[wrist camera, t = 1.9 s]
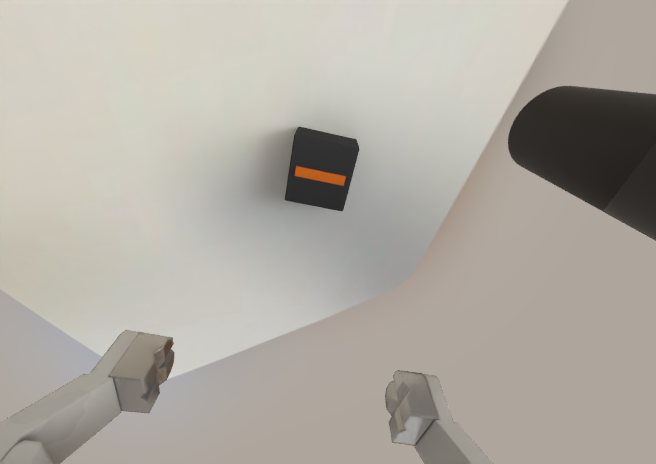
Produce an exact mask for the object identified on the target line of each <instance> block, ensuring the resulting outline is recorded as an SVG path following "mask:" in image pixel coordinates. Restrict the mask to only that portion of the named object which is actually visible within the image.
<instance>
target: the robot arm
mask: <svg viewBox="0 0 656 464" xmlns="http://www.w3.org/2000/svg"><path fill="white" fill-rule="evenodd" d="M173 344H174V343H173V338H172V337H166V336H160V335H154V334H148V333H142V332H136V331H129V330H125V331H124V332H122V333H121V334H120V335H119V336H118V338H117V339H116V340H115V342H114V343H113V344H112V345H111V347H110V348H109V349H108V351H107V352H106V353H105V354H104V356H103V357H102V358H101V360H100V361H99V362H98V364H97V365H96V366H95V367H94V369H93V370H92V371H91V373H90V374H83V375H81V376H79V377H78V378H76V379H74V380H73V381H71V382H69V383H67V384H66V385H64V386H62V387H61V388H59V389H57V390H55V391H54V392H52V393H50V394H49V395H47V396H45V397H43V398H42V399H40V400H38V401H37V402H35V403H33V404H31V405H30V406H28V407H26V408H25V409H23V410H21V411H19V412H18V413H16V414H14V415H13V416H11V417H9V418H7V419H6V420H4V421H2V422H1V423H0V464H60V463H61V462H62V461H64V460H65V459H66V458H67V457H68V456H70V455H71V454H72V453H73V452H74V451H76V450H77V449H78V448H79V447H80V446H82V445H83V444H84V443H85V442H86V441H88V440H89V439H90V438H91V437H92V436H94V435H95V434H96V433H97V432H99V431H100V430H101V429H102V428H103V427H105V426H106V425H107V424H108V423H109V422H111V421H112V420H113V419H114V418H115V417H117V416H118V415H119V414H120V413H121V411H129V412H141V413H150V410H151V409H152V407H153V405H154V403H155V401H156V399H157V397H158V395H159V393H160V392H159V385H160V384H162V383H163V382H164V381H166V380H167V378H168V376H169V374H170V372H171V369H172V366H173V363H174V351H173V350H172V349H171V348H172V346H173ZM393 378H394V381H392V382H390V383H389V384H388V386H387V389H386V396H385V397H386V408H387V410H388V412H389V413H390V414H391V416H392V417H391V419H390V421H389V426H390V431H391V438H392V442H393V443H399V444H406V445H413V446H415V449H416V450H417V452H418V453H419V455H420V457H421V459H422V460H423V462H424V463H425V464H493V463H492V462H491V460H490V459H489V458H488V457H487V456H486V455H485V454H484V452H483V451H482V450H481V449H480V448H479V447H478V446H477V444H476V443H475V442H474V441H473V440H472V439H471V437H470V436H469V435H468V434H467V433H466V432H465V431H464V429H463V428H462V427H461V426H460V425H459V424H458V423H457V422H454V421H453V418H452V416H451V413H450V410H449V407H448V404H447V401H446V399H445V396H444V393H443V390H442V387H441V384H440V382H439V379H438V378H437V376H434V375H427V374H422V373H415V372H408V371H400V370H398V371H396V372H395V373H394V375H393Z"/></svg>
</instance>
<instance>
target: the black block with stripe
mask: <svg viewBox="0 0 656 464" xmlns="http://www.w3.org/2000/svg"><path fill="white" fill-rule="evenodd" d="M358 152H359V146H358V143H357V140H356V139H352V138H347V137H343V136H338V135H334V134H329V133H325V132H320V131H316V130H311V129H307V128H302V127H298V129H297V131H296V133H295V135H294V142H293V149H292V155H291V162H290V169H289V175H288V182H287V189H286V195H285V200H287V201H292V202H297V203H302V204H307V205H312V206H317V207H322V208H327V209H333V210H338V211H343V209H344V205H345V201H346V197H347V193H348V190H349V186H350V182H351V178H352V175H353V171H354V167H355V163H356V160H357V156H358Z"/></svg>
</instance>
